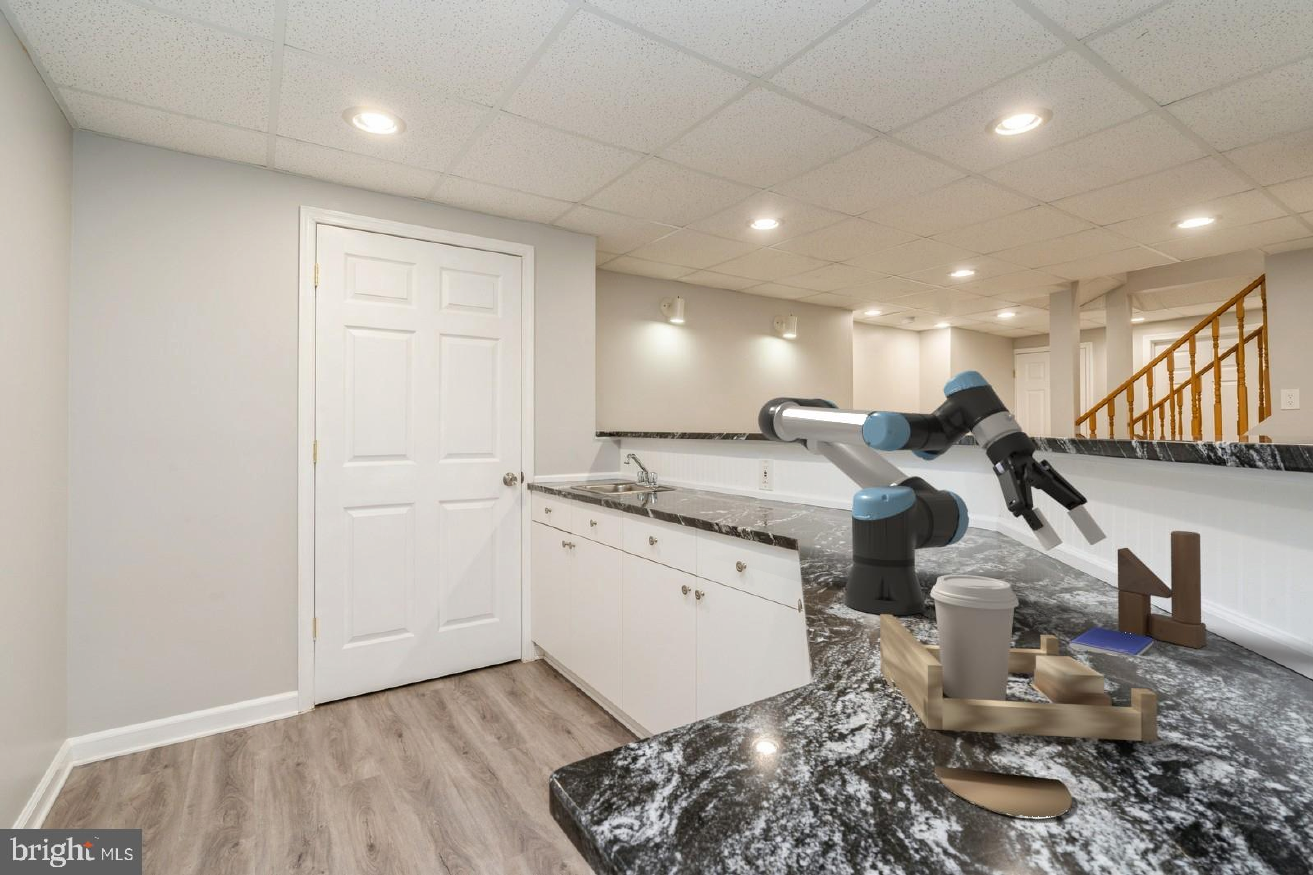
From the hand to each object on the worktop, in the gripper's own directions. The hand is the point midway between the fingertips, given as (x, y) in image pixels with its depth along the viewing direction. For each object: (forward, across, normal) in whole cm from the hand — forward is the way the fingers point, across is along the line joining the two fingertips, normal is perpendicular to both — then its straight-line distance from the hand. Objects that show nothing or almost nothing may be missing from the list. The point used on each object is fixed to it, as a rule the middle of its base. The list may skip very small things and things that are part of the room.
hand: (1077, 544), depth 102 cm
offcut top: (+19, -32, -5) cm, 38 cm away
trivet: (+25, -55, -8) cm, 61 cm away
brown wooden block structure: (+17, +11, +3) cm, 20 cm away
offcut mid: (+20, -32, -4) cm, 38 cm away
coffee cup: (+18, -41, +2) cm, 45 cm away
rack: (+19, -39, +1) cm, 43 cm away
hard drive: (+16, 0, +5) cm, 17 cm away
